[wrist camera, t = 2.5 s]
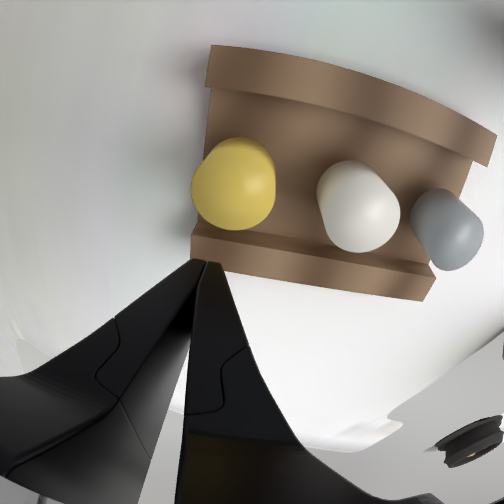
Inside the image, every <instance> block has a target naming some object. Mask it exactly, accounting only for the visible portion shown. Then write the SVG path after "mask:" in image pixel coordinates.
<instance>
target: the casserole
mask: <svg viewBox="0 0 504 504" xmlns="http://www.w3.org/2000/svg"><path fill="white" fill-rule="evenodd" d="M501 420H502V416H501V415H499V416H498V415H497V416H493V417H488V418H483V419H480V420H478V421H475V422H473V423H471V424H468V425H466V426H464V427H463V428H461V429H459V430H457V431H455V432H453V433H451V434H450V435H448V436H446V437H444V438H443V439H441V440H440V441H439V442H437V443H436V444H435V446H436V447H438V450H440V451H446V458H445V461H444V463H446V464H447V465H448V467H449V468H453V467H457V466H460V465H463V464H466V463H468V462H470V461H473V460H475V459H477V458H479V457H481V456H482V455H485V454H486V453H488V452H490V451H491V450H493V449H494V448H496V447H497V446H498V445H499V444H500V443H501V442H502V439H503V434H504V432H503V431H501V430H500V428H499V426H500V425H501Z"/></svg>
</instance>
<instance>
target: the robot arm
mask: <svg viewBox="0 0 504 504" xmlns="http://www.w3.org/2000/svg"><path fill="white" fill-rule="evenodd" d="M114 318H115V319H114ZM114 318H112V319H110V320H109V321H108V322H106V323H105V324H104V325H102V326H101V327H100V328H98V329H97V330H96V331H94V332H93V333H92V334H90V335H89V336H87V337H86V338H84V339H83V340H81V341H80V342H78V343H77V344H75V345H74V346H72V347H70V348H69V349H67V350H66V351H64V352H62V353H61V354H59V355H58V356H56V357H54V358H53V359H51V360H50V361H48V362H47V363H45V364H43V365H42V366H40V367H39V368H37V369H35V370H33V371H31V372H29V373H26V374H23V375H19V376H12V377H0V504H138V501H139V497H140V494H141V491H142V488H143V484H144V481H145V478H146V475H147V472H148V468H149V465H150V462H151V459H152V456H153V453H154V449H155V446H156V443H157V440H158V437H159V434H160V431H161V428H162V425H163V422H164V419H165V416H166V413H167V410H168V407H169V404H170V401H171V398H172V396H173V393H174V390H175V387H176V384H177V381H178V378H179V375H180V372H181V370H182V367H183V364H184V361H185V358H186V355H187V352H188V350H189V359H188V370H187V382H186V394H185V407H184V421H183V434H182V444H181V451H180V459H179V467H178V475H177V484H176V493H175V502H174V504H444V503H443V502H441V501H440V500H439V499H438V498H436V497H435V496H434V495H432V494H431V493H427V494H421V495H417V496H413V497H409V498H405V499H400V500H385V499H381V498H378V497H374V496H372V495H370V494H368V493H367V492H365V491H363V490H362V489H360V488H359V487H357V486H356V485H354V484H353V483H351V482H350V481H348V480H347V479H345V478H344V477H342V476H341V475H340V474H338V473H337V472H335V471H334V470H333V469H331V468H330V467H328V466H327V465H326V464H324V463H323V462H322V461H320V460H319V459H318V458H316V457H315V456H314V455H312V454H311V453H310V452H309V451H308V450H307V449H306V448H305V447H304V446H303V445H302V444H301V443H300V441H299V440H298V439H297V437H296V436H295V434H294V433H293V431H292V429H291V428H290V426H289V424H288V423H287V421H286V419H285V418H284V416H283V414H282V412H281V411H280V409H279V407H278V405H277V404H276V402H275V400H274V398H273V397H272V395H271V393H270V391H269V389H268V387H267V385H266V383H265V381H264V379H263V377H262V375H261V374H260V371H259V369H258V366H257V364H256V361H255V359H254V356H253V354H252V351H251V348H250V346H249V343H248V340H247V337H246V334H245V331H244V329H243V326H242V323H241V320H240V317H239V314H238V311H237V308H236V305H235V302H234V300H233V297H232V294H231V291H230V288H229V285H228V282H227V279H226V276H225V273H224V270H223V267H222V264H221V263H220V262H215V261H207V262H206V260H203V259H198V258H192V259H190V260H189V261H187V262H186V263H185V264H183V265H182V266H181V267H179V268H178V269H177V270H175V271H174V272H172V273H171V274H170V275H168V276H167V277H166V278H164V279H163V280H162V281H160V282H159V283H158V284H156V285H155V286H154V287H152V288H151V289H150V290H148V291H147V292H146V293H144V294H143V295H142V296H140V297H139V298H138V299H136V300H135V301H134V302H133V303H131V304H130V305H129V306H127V307H126V308H125V309H123V310H122V311H121V312H119V313H118V314H117V315H116V316H115V317H114ZM189 347H190V349H189ZM490 504H504V497H503V498H501V499H499V500H497V501H495V502H492V503H490Z"/></svg>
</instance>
